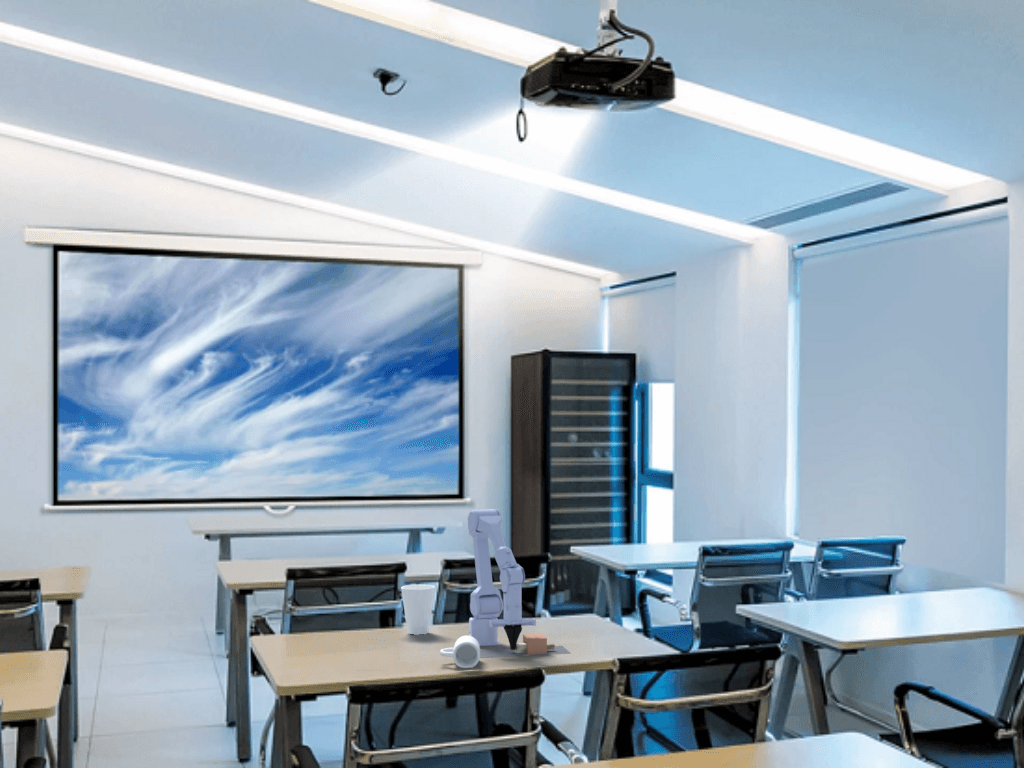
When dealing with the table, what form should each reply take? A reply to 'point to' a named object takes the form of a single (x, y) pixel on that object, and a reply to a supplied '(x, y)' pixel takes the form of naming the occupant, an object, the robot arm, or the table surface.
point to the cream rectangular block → (523, 647)
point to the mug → (464, 652)
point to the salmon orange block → (535, 643)
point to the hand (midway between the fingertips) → (512, 649)
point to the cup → (418, 607)
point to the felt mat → (508, 652)
